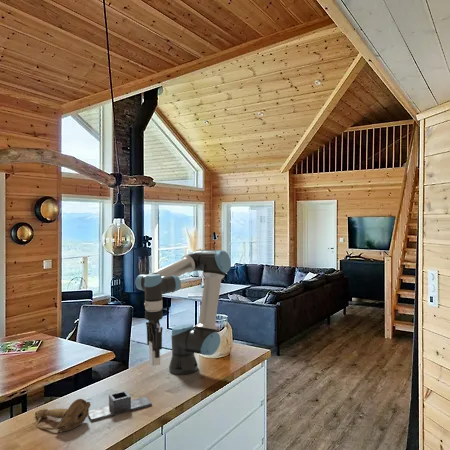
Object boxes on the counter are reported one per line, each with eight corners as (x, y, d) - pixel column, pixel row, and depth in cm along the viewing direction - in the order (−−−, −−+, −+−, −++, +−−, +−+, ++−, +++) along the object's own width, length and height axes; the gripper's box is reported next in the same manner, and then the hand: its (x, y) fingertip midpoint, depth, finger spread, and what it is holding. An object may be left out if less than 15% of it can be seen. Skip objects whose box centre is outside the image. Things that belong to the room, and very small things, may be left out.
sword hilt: (61, 422, 148) (88, 392, 160) (14, 410, 158) (43, 383, 170) (69, 443, 151) (95, 412, 164) (23, 429, 161) (51, 401, 174)
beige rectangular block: (157, 362, 180) (156, 339, 180) (160, 364, 177) (159, 341, 177) (149, 363, 178) (149, 341, 178) (152, 366, 175) (152, 342, 175)
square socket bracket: (145, 398, 180) (145, 385, 180) (151, 405, 174) (151, 391, 174) (87, 413, 167) (86, 399, 167) (91, 421, 161) (91, 406, 161)
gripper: (139, 307, 182) (139, 359, 183) (152, 314, 168) (153, 370, 168) (154, 305, 186) (155, 356, 186) (169, 312, 172) (170, 367, 172)
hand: (154, 363), depth 177 cm, fingers closed on beige rectangular block, 4 cm apart
